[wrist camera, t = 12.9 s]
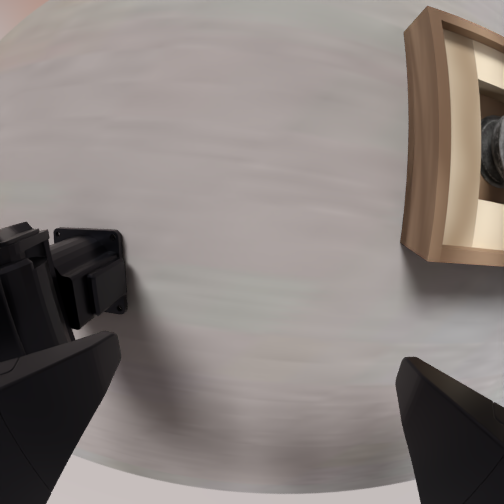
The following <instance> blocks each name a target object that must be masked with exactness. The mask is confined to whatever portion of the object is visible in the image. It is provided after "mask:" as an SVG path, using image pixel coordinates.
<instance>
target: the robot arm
mask: <svg viewBox="0 0 504 504" xmlns="http://www.w3.org/2000/svg"><path fill="white" fill-rule="evenodd" d="M59 233H60V236H59ZM113 234H114V235H115V237H116V239H115V240H114V239H113V237H112V236H113ZM48 239H49V232H48V230H42V231H39V229H32V227H31V226H30V225H29V224H28V223H27V222H23V223H19V224H16V225H12V226H9V227H5V228H2V229H0V504H46V503H47V501H48V499H49V497H50V495H51V492H52V490H53V489H54V486H55V485H56V483H57V481H58V479H59V477H60V475H61V473H62V471H63V469H64V467H65V466H66V464H67V462H68V460H69V458H70V456H71V454H72V453H73V451H74V449H75V447H76V445H77V443H78V442H79V440H80V438H81V436H82V434H83V433H84V431H85V429H86V427H87V426H88V424H89V422H90V420H91V418H92V417H93V415H94V413H95V411H96V410H97V408H98V406H99V405H100V403H101V401H102V399H103V397H104V396H105V394H106V391H107V389H108V387H109V385H110V383H111V380H112V378H113V376H114V374H115V371H116V369H117V367H118V365H119V362H120V359H121V353H120V347H119V342H118V337H117V335H116V334H115V333H113V332H108V331H103V332H100V333H97V334H93V335H90V336H87V337H84V338H81V339H78V340H75V337H74V335H73V332H72V329H77V330H79V329H80V328H82V327H83V326H84V325H85V324H86V323H88V322H89V321H90V320H91V319H92V318H94V317H95V316H99V315H101V314H102V313H103V312H109V313H115V314H124V313H125V312H126V311H127V301H126V292H127V288H126V277H125V265H124V260H123V258H122V243H121V234H120V232H119V231H118V230H112V229H88V228H62V227H60V228H57V229H55V230H54V244H52V245H50V246H49V241H48ZM119 306H121V307H122V309H120V307H119ZM396 391H397V397H398V403H399V409H400V415H401V421H402V426H403V430H404V434H405V438H406V441H407V445H408V449H409V453H410V457H411V461H412V465H413V469H414V474H415V478H416V482H417V487H418V492H419V497H420V502H421V504H504V407H502V406H500V405H499V404H497V403H495V402H494V403H493V401H491V400H490V399H488V398H486V397H484V396H483V395H481V394H479V393H478V392H476V391H474V390H472V389H471V388H469V387H467V386H465V385H464V384H462V383H460V382H458V381H457V380H455V379H453V378H452V377H450V376H448V375H446V374H445V373H443V372H441V371H439V370H438V369H436V368H434V367H433V366H431V365H429V364H427V363H426V362H424V361H422V360H421V359H419V358H417V357H405V358H403V360H402V362H401V365H400V368H399V371H398V374H397V377H396Z"/></svg>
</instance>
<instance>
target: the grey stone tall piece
mask: <svg viewBox="0 0 504 504" xmlns="http://www.w3.org/2000/svg"><path fill="white" fill-rule="evenodd" d="M480 173H481V175H482V176H483V178H484V179H485V180H486V181H487V182H488V183H489V184H490V185H492V186H494V187H496V188H504V115H503V116H502V117H500V116H496V115H491V116H486V117H485V118H483V119H482V120H481V169H480Z"/></svg>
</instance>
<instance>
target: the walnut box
mask: <svg viewBox="0 0 504 504" xmlns="http://www.w3.org/2000/svg"><path fill="white" fill-rule="evenodd" d="M404 40H405V51H406V63H407V78H408V106H409V137H408V166H407V182H406V195H405V206H404V216H403V225H402V233H401V240H400V243H402V244H403V245H404V246H406V247H407V248H409V249H410V250H412V251H413V252H415V253H416V254H418V255H419V256H420V257H422V258H423V259H425V260H426V261H429V262H444V263H458V264H473V265H488V266H502V267H504V188H496V187H494V186H492V185H490V184H489V183H488V182H487V181H486V180H485V179H484V178H483V176H482V175H481V173H480V169H481V120H482V119H483V118H485V117H486V116H491V115H496V116H500V117H502V116H503V115H504V37H503V36H501V35H499V34H497V33H495V32H493V31H490V30H488V29H486V28H484V27H482V26H480V25H477V24H475V23H473V22H470V21H468V20H465V19H463V18H460V17H458V16H455V15H452V14H450V13H447V12H444V11H441V10H438V9H435V8H432V7H429V6H427V7H426V8H425V9H424V10H423V11H422V12H421V14H420V15H419V16H418V17H417V18H416V19H415V20H414V21H413V22H412V24H411V25H410V26H409V27H408V28H407V29H406V30H405V31H404Z"/></svg>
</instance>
